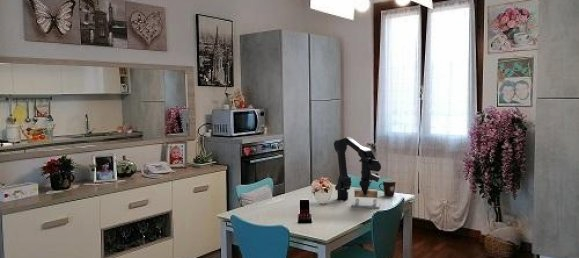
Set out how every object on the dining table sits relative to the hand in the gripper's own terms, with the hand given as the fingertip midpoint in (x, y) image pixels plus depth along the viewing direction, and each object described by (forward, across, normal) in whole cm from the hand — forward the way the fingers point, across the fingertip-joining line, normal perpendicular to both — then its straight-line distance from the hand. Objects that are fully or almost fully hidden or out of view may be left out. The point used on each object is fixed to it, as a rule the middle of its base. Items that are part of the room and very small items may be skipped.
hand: (365, 194), depth 281 cm
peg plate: (+7, 0, 0) cm, 7 cm away
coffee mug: (+8, +33, -11) cm, 36 cm away
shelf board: (+1, 0, 0) cm, 1 cm away
